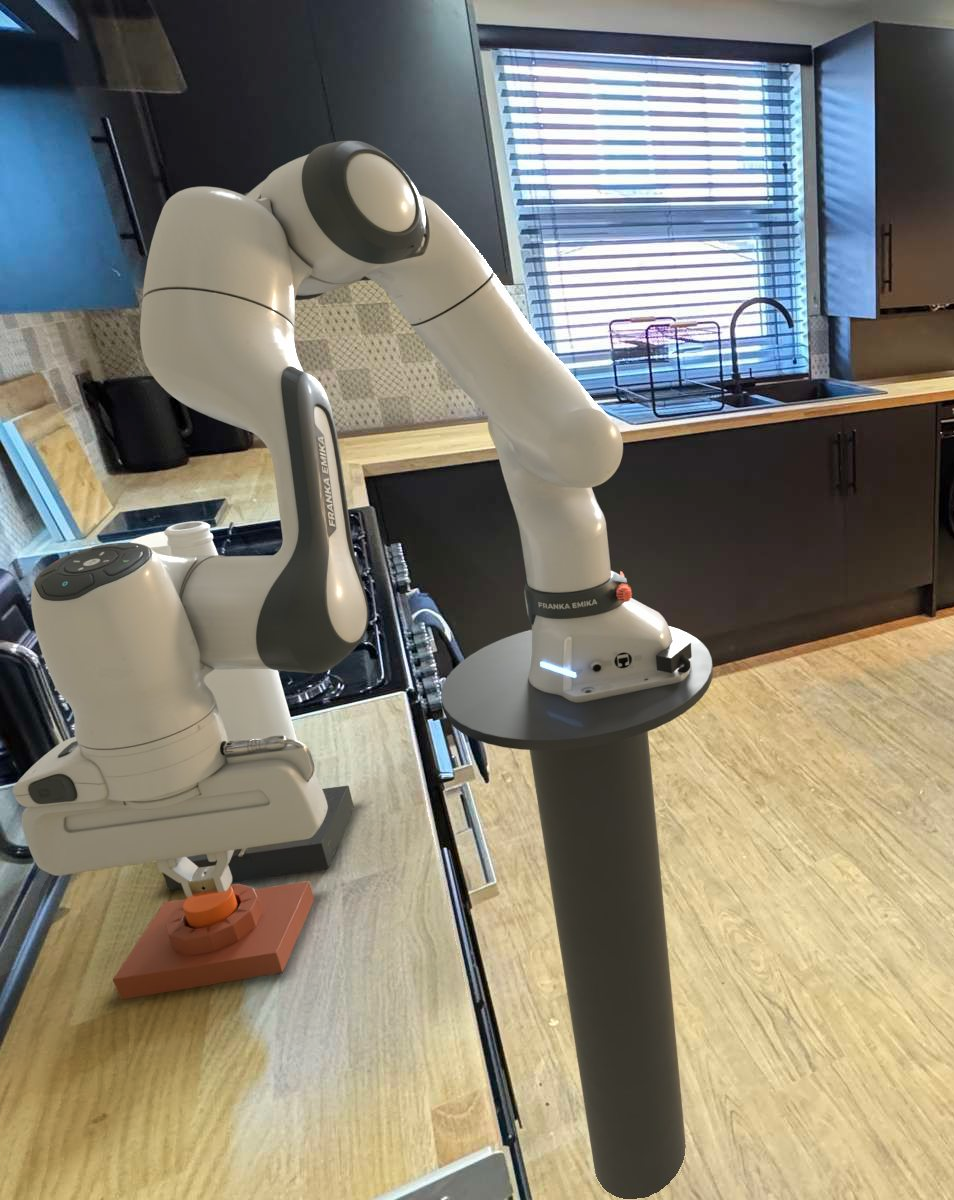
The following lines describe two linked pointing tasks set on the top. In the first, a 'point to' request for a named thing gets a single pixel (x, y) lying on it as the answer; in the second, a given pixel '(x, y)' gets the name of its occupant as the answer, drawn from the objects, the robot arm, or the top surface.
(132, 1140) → the top surface
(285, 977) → the top surface
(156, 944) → the button block
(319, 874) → the top surface
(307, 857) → the control panel
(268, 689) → the alcohol
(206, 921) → the button
